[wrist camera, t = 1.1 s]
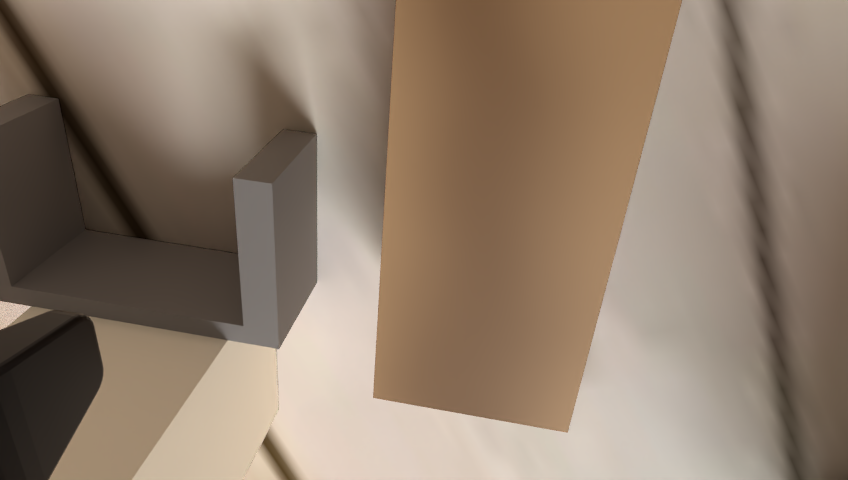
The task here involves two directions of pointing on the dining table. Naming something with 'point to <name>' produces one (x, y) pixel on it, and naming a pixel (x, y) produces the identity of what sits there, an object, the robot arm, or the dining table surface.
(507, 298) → the brown wooden block
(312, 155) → the post bracket
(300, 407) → the dining table surface
